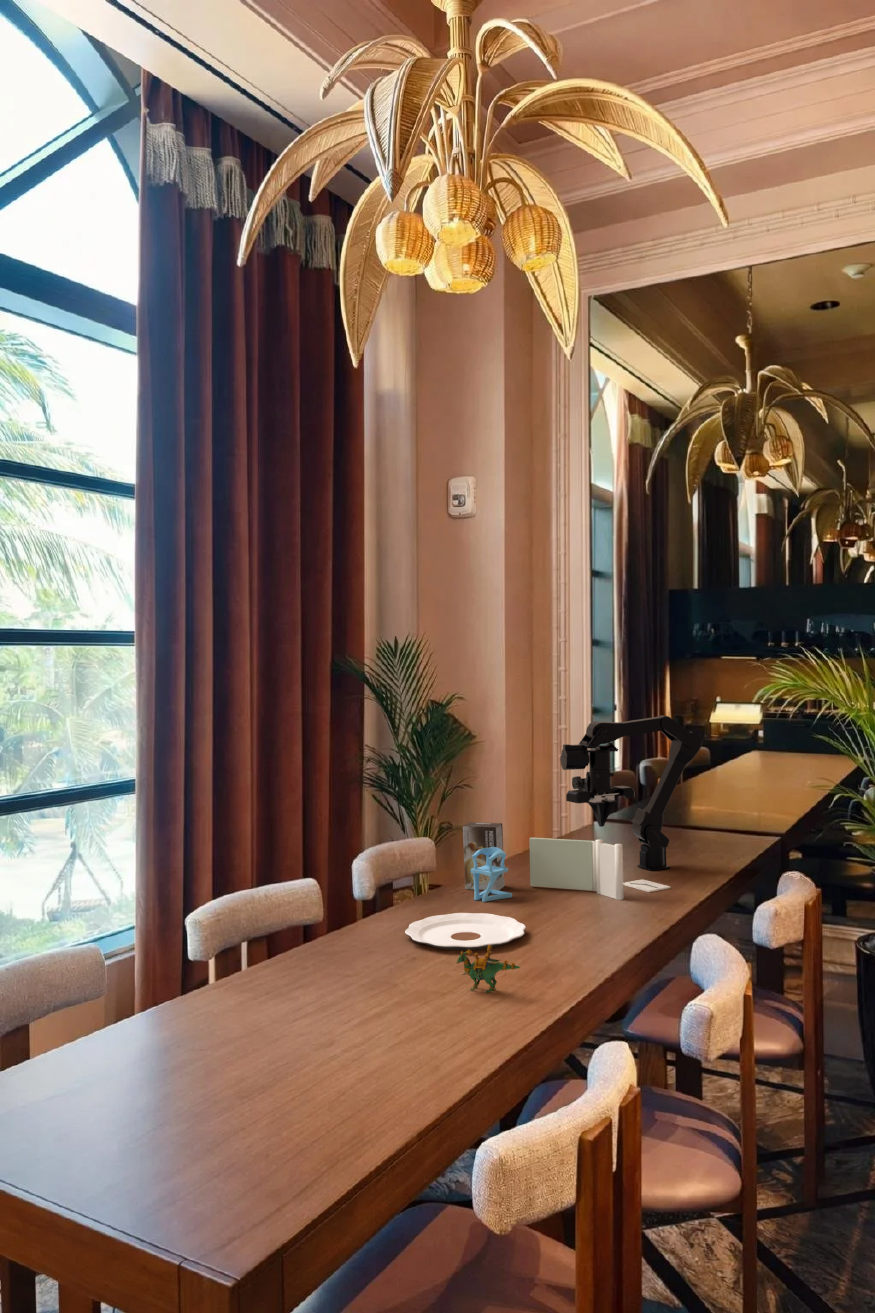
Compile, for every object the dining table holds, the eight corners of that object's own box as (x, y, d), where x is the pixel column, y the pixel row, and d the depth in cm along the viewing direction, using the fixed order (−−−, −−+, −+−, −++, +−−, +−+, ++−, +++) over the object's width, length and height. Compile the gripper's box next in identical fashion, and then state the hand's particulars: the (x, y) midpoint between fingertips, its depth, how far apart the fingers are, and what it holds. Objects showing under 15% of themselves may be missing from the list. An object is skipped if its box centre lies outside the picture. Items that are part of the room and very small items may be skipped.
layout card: (670, 888, 245) (670, 886, 245) (649, 892, 241) (649, 890, 241) (642, 880, 253) (642, 878, 253) (621, 884, 250) (621, 882, 250)
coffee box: (505, 885, 252) (504, 822, 252) (498, 891, 246) (497, 827, 246) (471, 883, 255) (470, 821, 255) (463, 889, 249) (462, 825, 249)
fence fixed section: (625, 899, 235) (623, 844, 235) (619, 900, 234) (618, 845, 234) (601, 892, 243) (599, 839, 242) (595, 893, 242) (594, 840, 242)
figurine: (460, 984, 177) (459, 939, 177) (524, 992, 172) (523, 945, 172) (453, 990, 174) (452, 943, 174) (518, 997, 170) (517, 950, 170)
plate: (390, 929, 215) (390, 920, 215) (496, 916, 223) (496, 907, 223) (430, 962, 191) (430, 952, 191) (546, 945, 200) (546, 936, 200)
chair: (466, 899, 239) (465, 849, 239) (488, 892, 245) (487, 844, 245) (491, 903, 234) (489, 853, 234) (513, 897, 240) (511, 847, 240)
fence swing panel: (598, 889, 243) (597, 841, 243) (597, 890, 242) (595, 842, 242) (531, 885, 250) (530, 837, 250) (530, 886, 249) (529, 838, 249)
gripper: (610, 763, 277) (612, 819, 277) (554, 768, 269) (555, 825, 269) (635, 767, 267) (636, 824, 267) (577, 772, 259) (578, 831, 259)
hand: (601, 826), depth 266 cm, fingers closed
